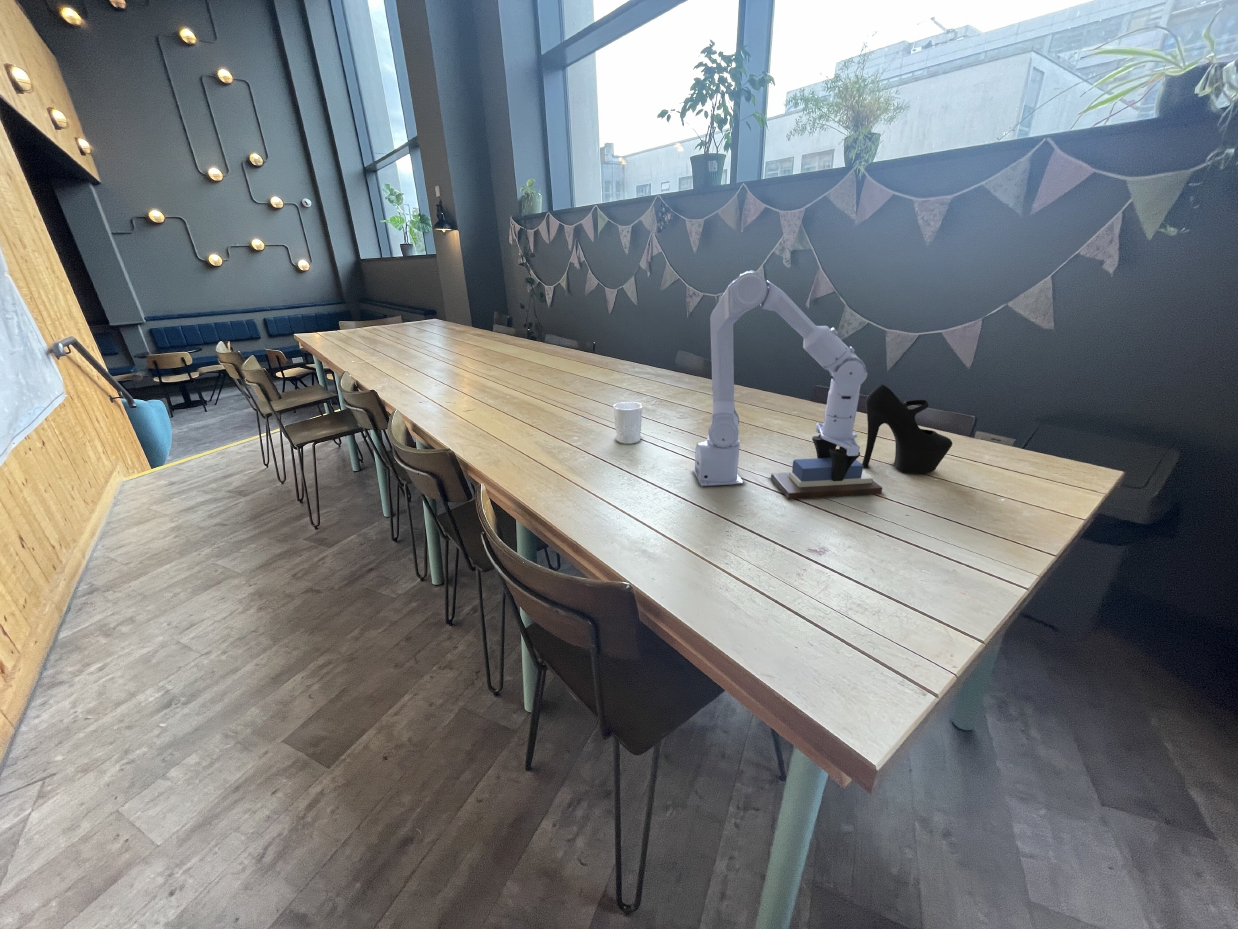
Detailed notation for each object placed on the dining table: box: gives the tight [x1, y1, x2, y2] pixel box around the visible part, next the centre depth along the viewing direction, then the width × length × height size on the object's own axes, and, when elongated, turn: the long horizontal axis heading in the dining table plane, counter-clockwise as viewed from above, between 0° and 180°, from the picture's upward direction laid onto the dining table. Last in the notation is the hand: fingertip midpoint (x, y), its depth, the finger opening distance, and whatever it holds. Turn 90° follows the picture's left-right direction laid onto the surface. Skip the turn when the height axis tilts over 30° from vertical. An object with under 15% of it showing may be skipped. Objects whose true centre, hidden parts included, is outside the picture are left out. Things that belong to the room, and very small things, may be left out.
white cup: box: [612, 401, 643, 445], centre depth 131 cm, size 8×8×10 cm
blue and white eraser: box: [788, 457, 874, 487], centre depth 101 cm, size 16×6×4 cm, turn 94°
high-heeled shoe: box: [861, 383, 953, 475], centre depth 106 cm, size 8×19×20 cm, turn 79°
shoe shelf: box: [770, 471, 883, 500], centre depth 102 cm, size 20×10×2 cm, turn 94°
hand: (830, 474), depth 101 cm, fingers open, 6 cm apart
